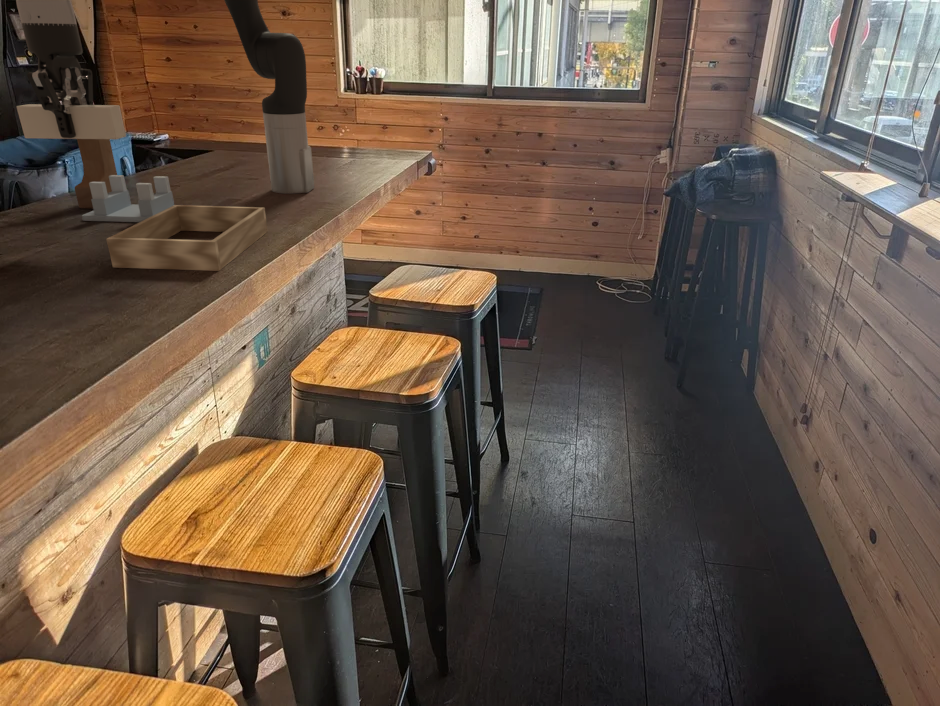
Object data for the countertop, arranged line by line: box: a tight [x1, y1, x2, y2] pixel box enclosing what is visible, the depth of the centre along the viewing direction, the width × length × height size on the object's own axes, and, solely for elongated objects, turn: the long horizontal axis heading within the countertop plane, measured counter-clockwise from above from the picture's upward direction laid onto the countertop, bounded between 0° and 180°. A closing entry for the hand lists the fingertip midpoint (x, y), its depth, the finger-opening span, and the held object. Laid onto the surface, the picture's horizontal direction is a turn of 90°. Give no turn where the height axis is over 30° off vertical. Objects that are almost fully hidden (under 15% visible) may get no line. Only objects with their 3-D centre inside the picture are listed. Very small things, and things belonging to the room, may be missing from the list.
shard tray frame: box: [105, 204, 268, 272], centre depth 109 cm, size 17×23×4 cm
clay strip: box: [16, 103, 127, 140], centre depth 108 cm, size 15×4×5 cm, turn 91°
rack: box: [81, 174, 175, 223], centre depth 127 cm, size 16×10×7 cm, turn 87°
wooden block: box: [74, 139, 118, 210], centre depth 133 cm, size 9×4×18 cm, turn 177°
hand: (76, 135), depth 109 cm, fingers closed on clay strip, 3 cm apart
